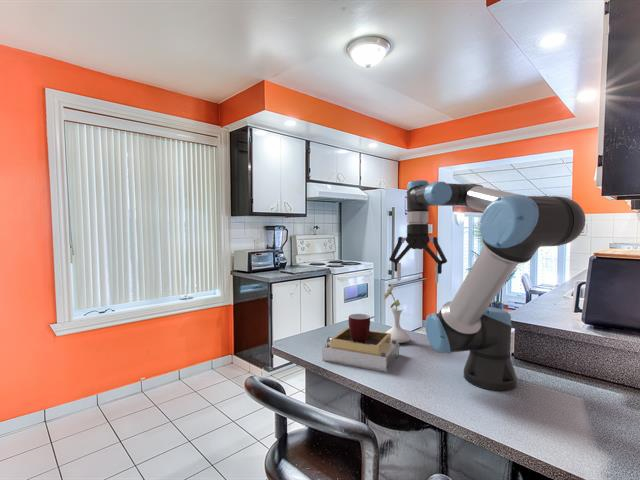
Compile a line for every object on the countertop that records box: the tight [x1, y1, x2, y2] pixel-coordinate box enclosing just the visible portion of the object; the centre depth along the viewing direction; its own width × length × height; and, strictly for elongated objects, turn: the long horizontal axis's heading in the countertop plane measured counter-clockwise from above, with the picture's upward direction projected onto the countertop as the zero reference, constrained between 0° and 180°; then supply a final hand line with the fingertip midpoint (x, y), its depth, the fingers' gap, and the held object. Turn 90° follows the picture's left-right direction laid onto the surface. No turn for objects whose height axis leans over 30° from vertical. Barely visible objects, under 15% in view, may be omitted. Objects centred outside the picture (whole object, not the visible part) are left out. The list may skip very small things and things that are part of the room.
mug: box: [348, 313, 371, 343], centre depth 128 cm, size 10×8×10 cm
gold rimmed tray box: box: [321, 327, 400, 373], centre depth 129 cm, size 28×18×8 cm, turn 63°
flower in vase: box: [382, 283, 411, 344], centre depth 145 cm, size 13×11×25 cm
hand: (417, 281), depth 125 cm, fingers open, 13 cm apart
